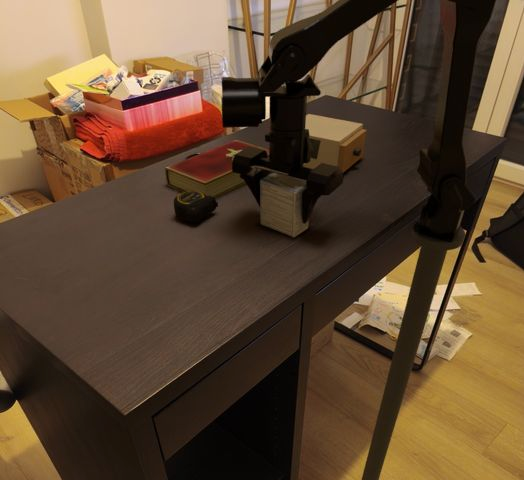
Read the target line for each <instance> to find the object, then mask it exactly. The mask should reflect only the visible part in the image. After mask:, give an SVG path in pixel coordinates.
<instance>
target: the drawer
mask: <svg viewBox="0 0 524 480" xmlns="http://www.w3.org/2000/svg"><path fill="white" fill-rule="evenodd" d="M366 137H367V129H361V130H360V131H358V132H357V133H356V134H353V135H352V136H351V137H349V138H348V139H347V140H345V141H344V142H343V143H341V144H340V151H339V161H338V167H341V170H342V172H343V174H344V173H345V172H346V171H348V170H349V169H350V168H351V167H352V166H353V165H354V164H356V163H357V162H358V161H359V160H360V159H361V158H363V157H364V150H365V144H366Z"/></svg>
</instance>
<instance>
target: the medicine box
mask: <svg viewBox="0 0 524 480" xmlns="http://www.w3.org/2000/svg"><path fill="white" fill-rule="evenodd" d="M305 189H307V187H306V181H305V180H302V179H299V178H294V177H290V176H286V175H282V174H278V173H274V172H272V173H271V174H268V176H266V177H265V178H263V179H261V180H260V207H261V209H260V225H262V226H264V227H267V228H269V229H271V230H274V231H277V232H279V233H282V234H284V235H287V236H289V237H292V238H296V237H297V236H299V235H300V234H302V233H303V232H305V231H306V230H308V229H309V220H308V221H307V222H306V223H305V224H304V223H303V220H302V192H303V191H304V190H305ZM260 207H259V208H260Z"/></svg>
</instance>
